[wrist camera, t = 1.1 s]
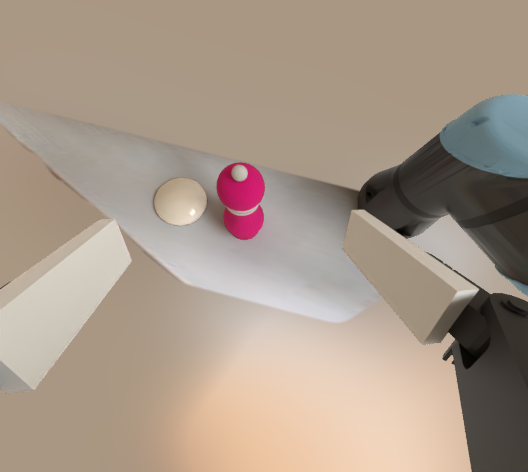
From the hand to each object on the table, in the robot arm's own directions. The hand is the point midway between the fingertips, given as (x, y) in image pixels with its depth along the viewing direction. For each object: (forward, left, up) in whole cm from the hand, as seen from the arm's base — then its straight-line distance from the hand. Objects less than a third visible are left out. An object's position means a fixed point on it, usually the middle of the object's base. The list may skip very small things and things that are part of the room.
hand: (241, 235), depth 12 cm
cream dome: (+19, +3, -28) cm, 34 cm away
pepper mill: (+8, -5, -28) cm, 29 cm away
